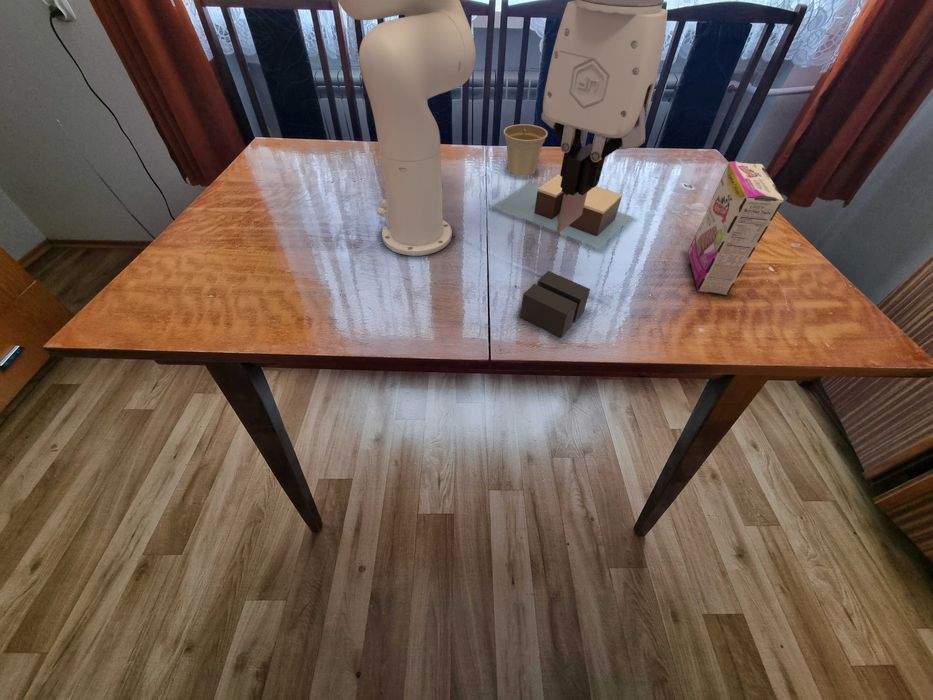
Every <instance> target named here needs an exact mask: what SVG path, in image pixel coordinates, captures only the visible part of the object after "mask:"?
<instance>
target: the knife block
mask: <svg viewBox="0 0 933 700" xmlns="http://www.w3.org/2000/svg"><path fill="white" fill-rule="evenodd" d="M590 292H591V288H589V287H587V286H585V285H582V284H580V283H578V282H575V281H573V280H571V279H568V278H566V277H564V276H561V275H559V274H557V273H555V272H552V271H550V270H547V271H546V272H545V273H544V274H542V276H540V278H539V279H537V283H533V284H532V285H531V286H530V287H529V288H528V289H527V290H526V291H525V292H524V293H523V294H522V301H521V307H520V313H519V318H521V319H523V320H525V321H526V322H529V323H531V324H533V325H534V326H537V327H538V328H541V329H542V330H544V331H546V332H548V333H551V334H552V335H554V336H556V337H558V338H560V339H562V338H563V336H564V335H565V334H567V332H568V331H569V330H570V328H572V326H573V325H572V324H573V323H574V324H575V323H576V322H577V321H578V320H579V319H580V317H581V316H582V315H583V314H584V312H585V310H586V306H587V302H588V299H589V295H590Z"/></svg>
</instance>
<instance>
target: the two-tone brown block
mask: <svg viewBox="0 0 933 700" xmlns="http://www.w3.org/2000/svg"><path fill="white" fill-rule="evenodd" d="M561 181H562V177H561V176H560V173H557V174H556V175H555V176H554V177H552V178H550V179H549V180H548V181H546V182H545V183H544V184H542V185H541V187H539V188H538V190H537V197H536V204H535V211H534V213H535V214H538V215H541V216H543V217H546V218H549V219H551V220H552V219H553V218H555V217H556V216H557V215H558V214H560V211H561V206H562V201H563V196H564V194H566V193H565V192H562V188H561V187H560V186H561Z"/></svg>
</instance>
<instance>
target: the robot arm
mask: <svg viewBox="0 0 933 700" xmlns="http://www.w3.org/2000/svg"><path fill="white" fill-rule="evenodd" d="M337 2H338V4H339V6H340V7H341V9H342V10H343V11H344V13H345V14H346V15H348V16H349V18H352V19H354V20H356V21H374V20H381V19H386V18H391V17H396V16H403V15H404V17H398V18H394V19H389V20H386V21H383V22H380V23H378V24H376V25H375V26H373V27H372V28H371V29H369V31H367V33H366V34H365V35H364V37H363V38H362V40H361V43H360V46H359V49H358V51H359V52H358V64H359V69H360V73H361V77H362V80H363V81H362V82H363V83H364V84H363V85H364V87H365V90H366V93H367V96H368V100H369V103H370V107H371V112H372V115H373V120H374V125H375V132H376V138H377V144H378V145H377V146H378V151H379V158H380V165H381V166H380V167H381V173H382V180H383V187H384V194H385V198H384V199H383V200H381V203H380V207H378V208H377V209H376V214H377V216H380V217H383V218H384V219H385V225H384V227H383V229H382V232H381V237H382V242H383V244H384V245H385V247H386V248H388V249H389V250H391V251H392V252H394V253H397V254H400V255H404V256H412V257H416V256H417V257H418V256H419V257H420V256H427V255H431V254H436V253H437V252H439V251H441V250H443V249H444V248H446V247H447V246H448V245H449V244H450V242H451V240H452V238H453V235H452V234H453V231H452V227H451V224H449V222H447V221H446V220H445V219H444V213H443V212H444V210H443V180H442V179H443V178H442V149H441V134H440V128H439V126H438V123H437V121H436V119H435V117H434V115H433V114H432V111H431V109H430V107H429V104H428V101H429V99H431V98H433V97H435V96H438V95H441V94H444V93H447V92H449V91H450V92H451V91H452V90H456V89H458V88H459V87H461V86H463V85H464V84H466V83H467V82H468V80H469V79H470V78H471V77H472V74H473V72H474V69H475V65H476V56H477V54H476V45H475V39H474V35H473V31H472V28H471V26H470V23H469V20H468V18H467V15H466V13H465V10H464V8H463V6H462V3H461V1H460V0H337ZM664 2H665V0H571V1H567V3H566V6H565V9H564V12H563V15H562V18H561V21H560V25H559V27H558V32H557V35H556V38H555V41H554V45H553V48H552V49H553V50H552V54H551V58H550V62H549V67H548V72H547V76H546V77H547V78H546V83H545V87H544V93H543V99H542V100H543V101H542V112H541V116H540V118H541V120H542V121H543V122H544V123H545V124H546V125H547V126H549V127H550V128H551V129H553V130H554V132H555V134H556V136H557V138H558V140H559V142H560V150H561V152H563V159H562V162H561V168H560V173H559V174H560V176H561V177H562V181H561V186H560V187H561V188H562V186H563V181H564V176H565V171H566V166H567V161H568V157H569V156H571V155H572V154H574V153H576V152H577V151H579V150H580V149H582V148H583V147H584V146H582V145H583V144H582V143H583V139H584V134H585V132H588V133H590V134H594V135H595V136H594V139H593V144H592V145H593V147H592V151H591V153H590V156H589V159H587V160H586V161H585V163H584V167H583V171H582V175H581V180H580V184H579V189H578V194H580V195H584V194H585V193H587V192H588V191H589V190H591V189H592V188H594V187H595V186H597V187H598V184H599V182H600V179H601V175H602V171H603V167H604V163H605V160H606V158H607V157H608V156H609V155H611V154H612V153H615V152H616V151H618V150H627V149H628V150H629V149H636V148H637V149H638V148H639V147H640V146H641V145H643V144H644V143H645V142H646V117H647V114H648V112H649V108H650V105H651V101H652V98H653V94H654V91H655V87H656V83H657V79H658V74H659V70H660V64H661V60H662V54H663V50H664V48H663V47H664V44H665V43H664V42H665V37H666V29H667V22H668V20H667V19H668V10H667V9H665V8H662V7H663V4H664Z"/></svg>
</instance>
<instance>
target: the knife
mask: <svg viewBox="0 0 933 700" xmlns="http://www.w3.org/2000/svg"><path fill="white" fill-rule="evenodd" d="M582 147H583V148H582V149H580V150H579V151H577V152H576V153H574V154H572V155H571V156H569V157H568V161H567V166H566V171H565V176H564V181H563V186H562V192H565V193H566V194H564V196H563V201H562V206H561V211H560V216H559V221H558V226H557V231H555V232H556V233H557V234H561V233H560V232H561V231H562V230H564V229H565V228H566V227H567V226H569V225H570V224H571V223H572V222H574V221H575V220H576V219H577V218H578V217H580V216H581V215H582V212H583V208H584V204H585V200H586V195H587V193H585V194H584V195H580V194H578V189H579V184H580V180H581V175H582V171H583V167H584V163H585V161H586V160H587V159H589V156H590V153H591V151H592V147H593V144H592V143H588V144H587V145H585V146H582Z"/></svg>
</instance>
